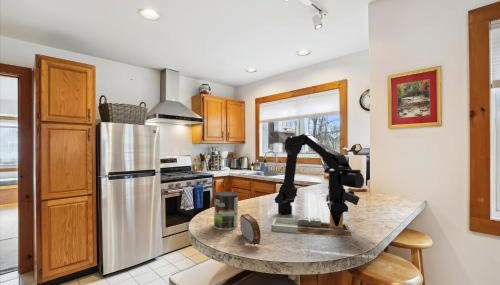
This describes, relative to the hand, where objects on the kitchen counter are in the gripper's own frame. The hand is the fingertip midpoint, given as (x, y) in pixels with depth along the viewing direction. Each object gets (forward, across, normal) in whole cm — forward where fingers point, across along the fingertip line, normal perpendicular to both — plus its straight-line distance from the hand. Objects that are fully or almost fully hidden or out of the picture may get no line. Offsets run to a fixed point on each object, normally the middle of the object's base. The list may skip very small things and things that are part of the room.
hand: (336, 224), depth 94 cm
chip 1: (+3, 0, +13) cm, 13 cm away
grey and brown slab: (+4, -15, +32) cm, 36 cm away
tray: (+4, 0, +20) cm, 20 cm away
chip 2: (+3, 0, +8) cm, 8 cm away
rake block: (+2, 0, 0) cm, 2 cm away
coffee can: (+4, -3, +45) cm, 45 cm away
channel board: (+4, 0, +5) cm, 6 cm away
